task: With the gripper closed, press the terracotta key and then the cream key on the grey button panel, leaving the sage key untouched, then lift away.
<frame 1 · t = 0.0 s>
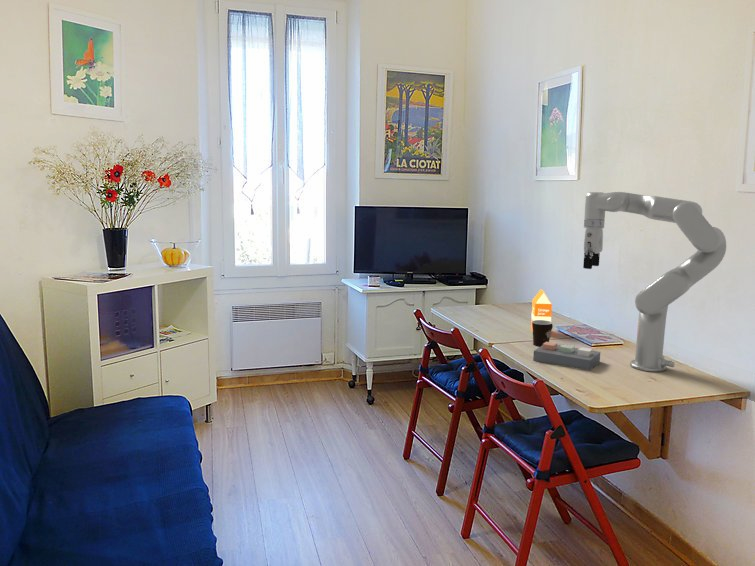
hand: (591, 267, 243), 37 cm above the table, tool pointing down, fingers open, 9 cm apart
grey button panel: (566, 361, 242), on the table
key sage: (567, 350, 241), point 4 cm above the table, slide at 0.0 cm
orange juice: (540, 332, 288), on the table
coffee mug: (543, 344, 267), on the table
key terracotta: (549, 347, 245), point 4 cm above the table, slide at 0.0 cm
key cream: (585, 353, 238), point 4 cm above the table, slide at 0.0 cm
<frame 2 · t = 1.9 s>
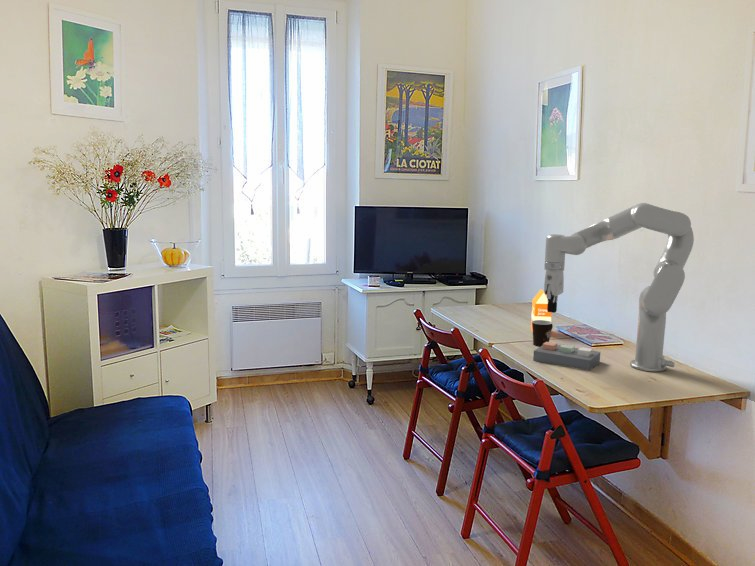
hand: (551, 311, 243), 19 cm above the table, tool pointing down, fingers closed
nothing on the table moved.
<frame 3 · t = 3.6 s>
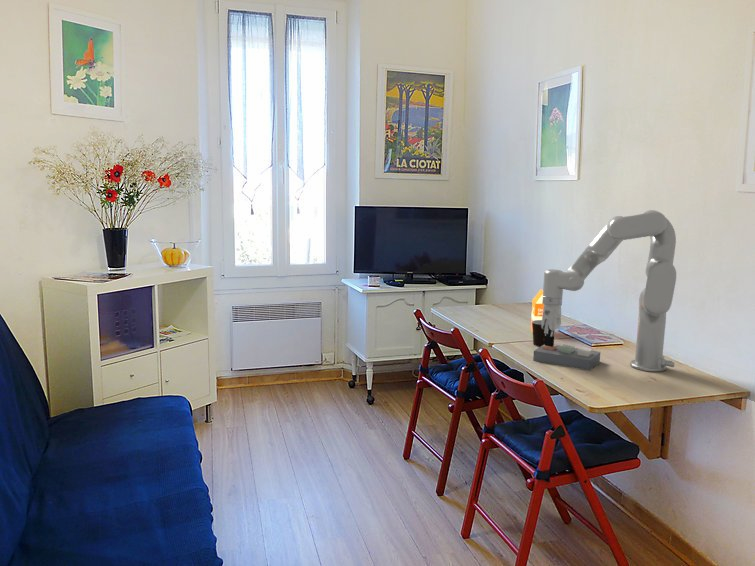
hand: (549, 345, 245), 5 cm above the table, tool pointing down, fingers closed
key terracotta: (549, 349, 246), point 4 cm above the table, slide at 0.9 cm, touching gripper
everything else where it was.
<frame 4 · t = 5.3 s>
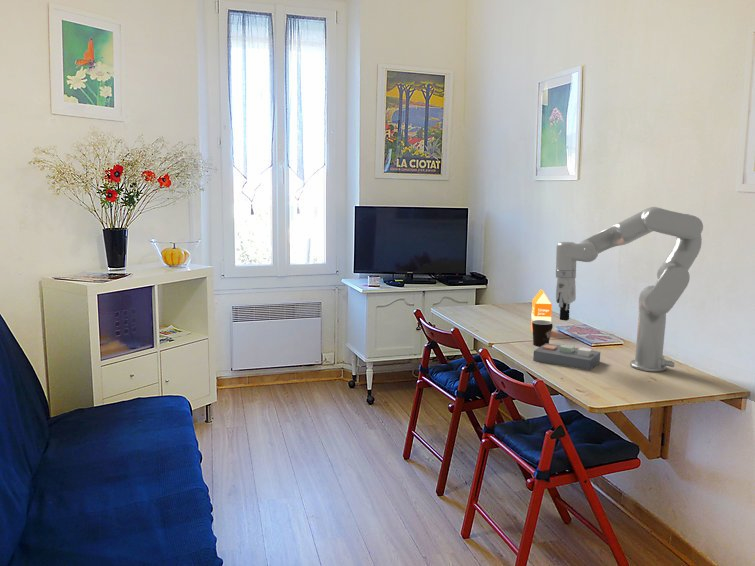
hand: (564, 319, 241), 16 cm above the table, tool pointing down, fingers closed
key terracotta: (549, 350, 246), point 3 cm above the table, slide at 1.2 cm
everything else where it was.
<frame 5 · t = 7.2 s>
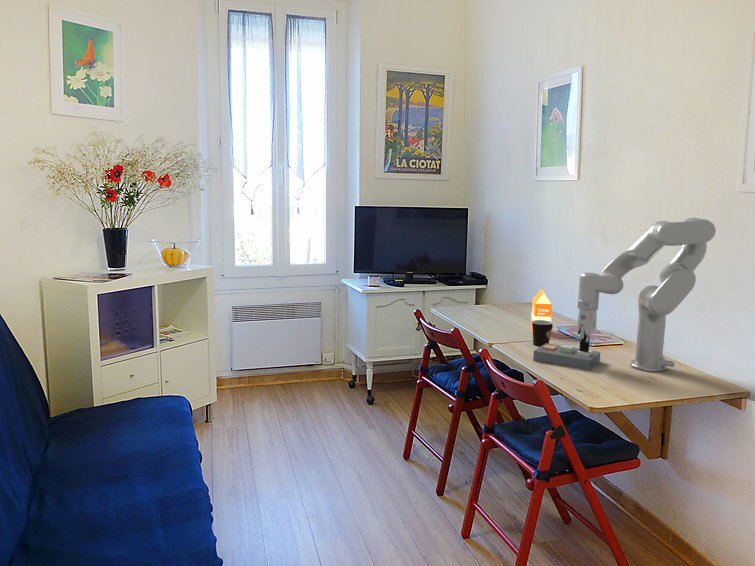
hand: (584, 351, 237), 5 cm above the table, tool pointing down, fingers closed
key cream: (584, 355, 238), point 4 cm above the table, slide at 0.8 cm, touching gripper
everything else where it was.
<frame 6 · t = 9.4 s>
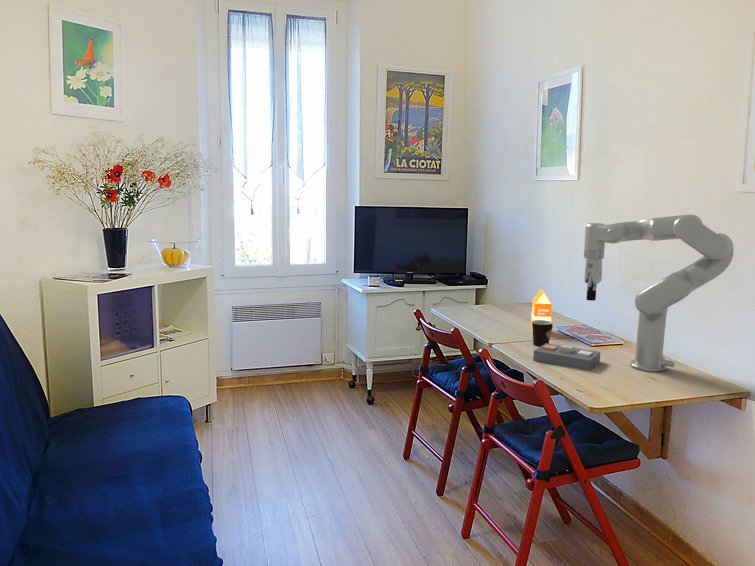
hand: (591, 299, 245), 24 cm above the table, tool pointing down, fingers closed
key cream: (584, 356, 238), point 3 cm above the table, slide at 1.2 cm
everything else where it was.
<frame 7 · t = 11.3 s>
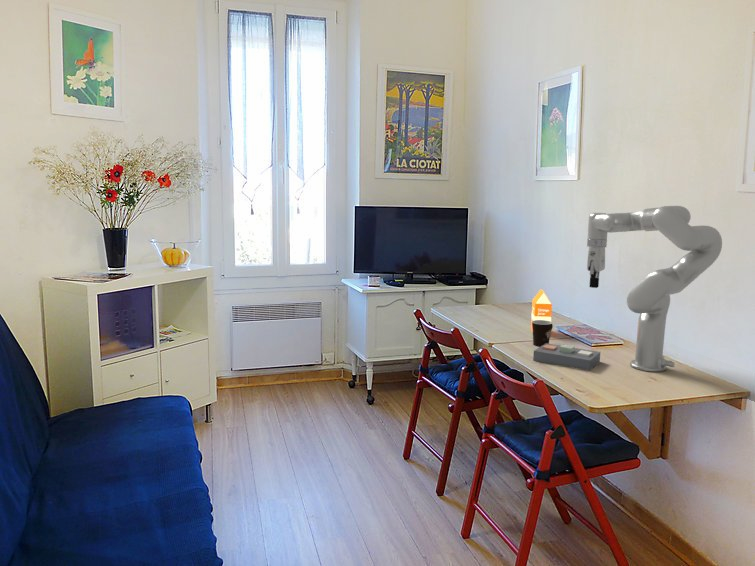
hand: (593, 287, 253), 27 cm above the table, tool pointing down, fingers closed
nothing on the table moved.
at the end: key terracotta slide at 1.2 cm; key cream slide at 1.2 cm; key sage slide at 0.0 cm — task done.
